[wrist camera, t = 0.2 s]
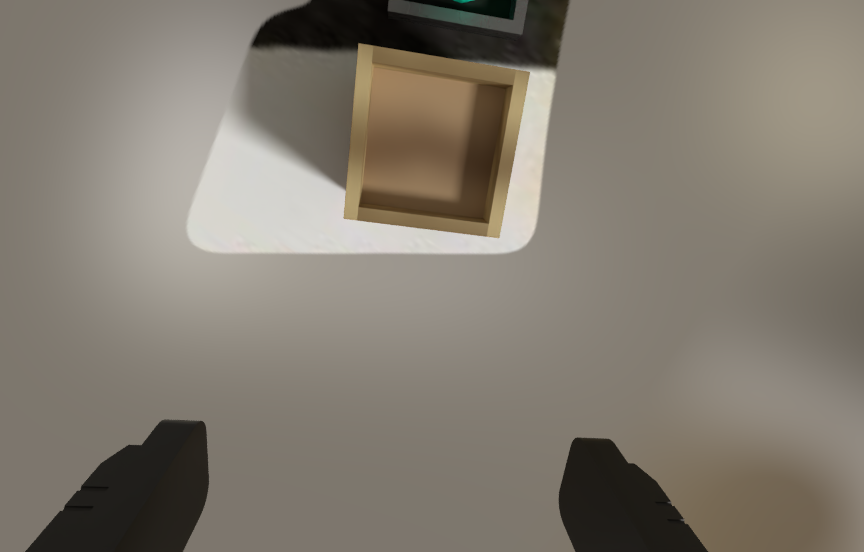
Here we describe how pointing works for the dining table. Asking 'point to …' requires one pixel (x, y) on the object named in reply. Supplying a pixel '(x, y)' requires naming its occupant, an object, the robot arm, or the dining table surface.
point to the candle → (462, 1)
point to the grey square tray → (462, 18)
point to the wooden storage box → (432, 141)
